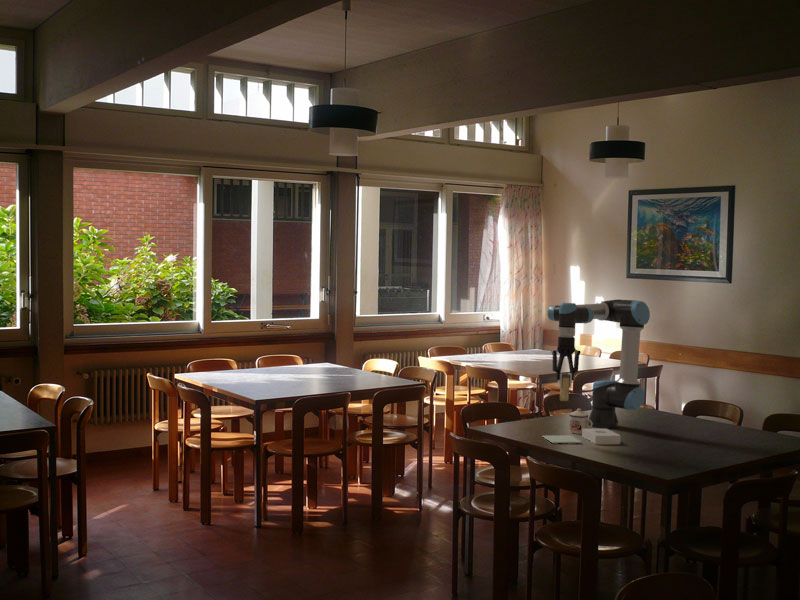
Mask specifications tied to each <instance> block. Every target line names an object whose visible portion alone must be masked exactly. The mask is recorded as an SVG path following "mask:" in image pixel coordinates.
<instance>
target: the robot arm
mask: <svg viewBox="0 0 800 600" xmlns="http://www.w3.org/2000/svg"><path fill="white" fill-rule="evenodd" d="M650 317H651V313H650V308H649V307H648V305H647V304H646V302H645V301H643V300H642V301H641V300H636V299H611V300H610V299H609V300H603V301H598V302H595V303H586V304H585V303H584V304H582V303H581V304H576V303H574V302H561V303H560V304H559V305H558V304H557V305H554V304H553V305H551V306H549V307H548V310H547V318H548V320H550V321H553V322H558V335H557V336H558V337H557V338H558V339H557V348H556V349H552V350H551V355H552V371H553V372H555V373H556V380H557V387H558V388H559V389H560V388H562V374H563V373H561V372H562V367H563V363H564V360H565V358H567V362H568V368H569V372H568V373H567V374H569V375H570V378H569V389H571V388H572V386H573V385H572V384H573V383H572V381H574V379H575V376H574V375H575V373H578V371H579V365H580V363H579V362H580V354H581V352H582V351H581V350H579V349H576V347H575V345H576V344H575V343H576V342H575V341H576V338H575V336H576V324H589V323H591V322H592V321H593V320H598V321H606V322H613V323H618V324H619V328H620V329H621V331H622V333H621V335H622V336H621V348H620V360H619V361H620V364H619V377H618V379H617V380H611V379H610V380H596V381H594V382H593V384H592V390H591V391H592V395H591V396H592V397H591V399H592V400H591V411H590V413H589V415H588V419H590V420H591V421H592V423H593V425H592V428H597V429H615V428H616V429H617V428H619V420H618V419H619V418H618V416H617V413H616V408H618V409H624V410H627V411H636V410H638V409H640V408H641V406H643V403H644V401H645V396H646V395H645V391H644V389H643V388H642V387H641V382H640V381H639V380H638V374H639V373H638V372H639V371H638V370H639V369H638V368H639V360H640V357H639V356H640V344H641V343H640V342H641V341H640V340H641V331H642V330H643V329H644V327H645V326H646V325H647V324H648V323H649V320H650V319H651V318H650ZM558 354H559V356H558ZM573 354H574V358H573ZM573 359H574V360H573ZM590 425H591V423H590V422H589V421H588V426H589V427H590Z"/></svg>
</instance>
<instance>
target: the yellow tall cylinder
mask: <svg viewBox="0 0 800 600" xmlns="http://www.w3.org/2000/svg"><path fill="white" fill-rule="evenodd" d="M569 378H570V375H569V374H568V373H562V388H560V387H559V401H561V402H569V401H570V400H569V399H570V388H569Z"/></svg>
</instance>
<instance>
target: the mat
mask: <svg viewBox="0 0 800 600" xmlns="http://www.w3.org/2000/svg"><path fill="white" fill-rule="evenodd" d="M542 437H544V438H545V439H547V440H549V441H550V442H552V443H582V444H583V441H582V440H580V439H578V438H577V437H574V436H573V435H567V434H566V435H565V434H564V435H561V434H560V435H542V436H541V438H542ZM545 439H544V440H545ZM550 442H549V443H550Z"/></svg>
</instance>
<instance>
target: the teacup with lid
mask: <svg viewBox="0 0 800 600" xmlns="http://www.w3.org/2000/svg"><path fill="white" fill-rule="evenodd" d="M568 415H569V425H568V426H569V428H568V431H569V433H570V432H572V433H571V434H573V433H577V434H576V435H582V429H593V427H592V425H593V423H592V421H591V420H590V419H589V414H588V413H586V412H584V411H583V410H582V409H581V408H577V409H576V410H575V411H572V412H569V414H568ZM588 421H589V422H590V423H591V425H590V426H589V425H588ZM588 426H589V427H588Z"/></svg>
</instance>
